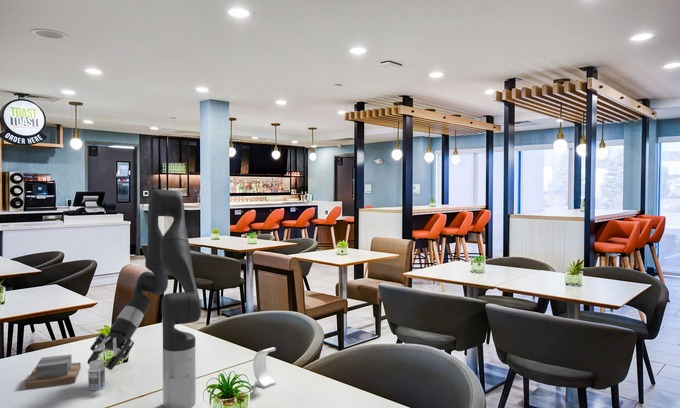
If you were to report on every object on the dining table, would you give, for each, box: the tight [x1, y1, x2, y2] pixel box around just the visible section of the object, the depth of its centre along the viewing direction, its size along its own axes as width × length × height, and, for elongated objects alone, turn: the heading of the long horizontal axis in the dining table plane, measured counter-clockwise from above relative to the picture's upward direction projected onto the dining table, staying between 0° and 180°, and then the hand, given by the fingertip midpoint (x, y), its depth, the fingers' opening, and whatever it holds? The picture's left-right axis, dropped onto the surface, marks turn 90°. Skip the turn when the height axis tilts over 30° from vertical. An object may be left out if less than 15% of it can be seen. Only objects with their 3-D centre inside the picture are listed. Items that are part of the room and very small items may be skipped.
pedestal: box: [24, 354, 81, 390], centre depth 163 cm, size 14×14×6 cm
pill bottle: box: [87, 359, 106, 391], centre depth 155 cm, size 5×5×8 cm
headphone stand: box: [252, 347, 277, 389], centre depth 159 cm, size 5×6×12 cm
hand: (99, 366), depth 156 cm, fingers open, 8 cm apart
